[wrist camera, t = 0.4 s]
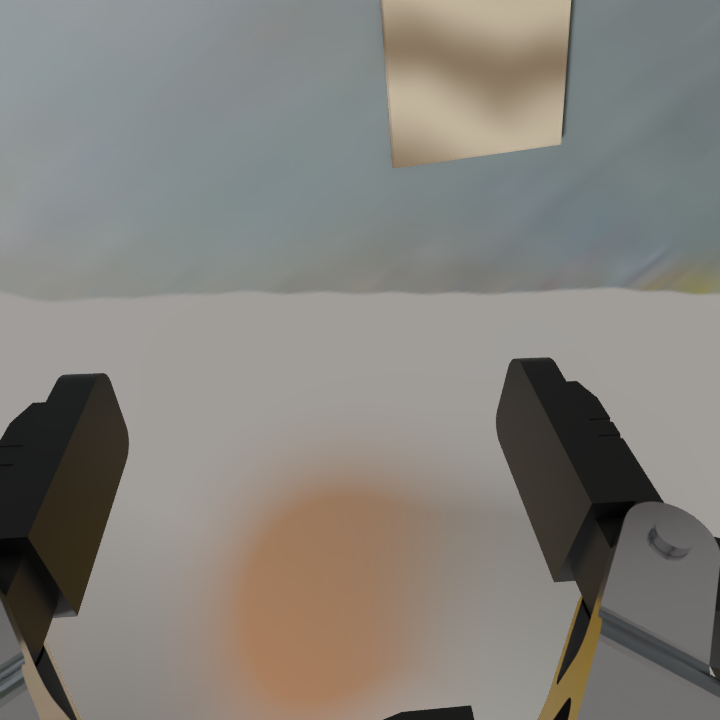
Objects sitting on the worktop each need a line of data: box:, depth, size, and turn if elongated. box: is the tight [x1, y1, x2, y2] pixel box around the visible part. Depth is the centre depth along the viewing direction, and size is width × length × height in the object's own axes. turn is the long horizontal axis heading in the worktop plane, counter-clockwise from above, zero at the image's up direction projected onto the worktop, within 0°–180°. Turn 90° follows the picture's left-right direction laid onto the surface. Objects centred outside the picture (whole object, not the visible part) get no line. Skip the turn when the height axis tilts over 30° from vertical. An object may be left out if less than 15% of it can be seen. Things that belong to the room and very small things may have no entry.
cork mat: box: [380, 0, 571, 168], centre depth 32 cm, size 11×11×1 cm
